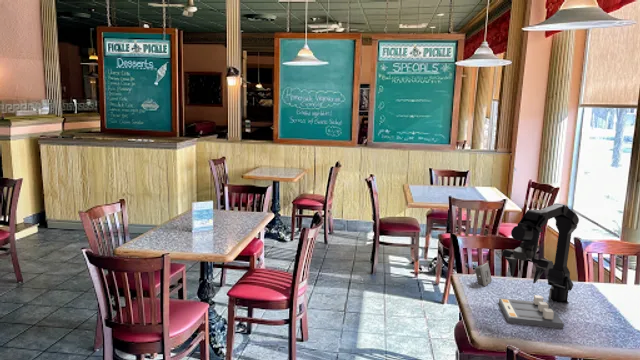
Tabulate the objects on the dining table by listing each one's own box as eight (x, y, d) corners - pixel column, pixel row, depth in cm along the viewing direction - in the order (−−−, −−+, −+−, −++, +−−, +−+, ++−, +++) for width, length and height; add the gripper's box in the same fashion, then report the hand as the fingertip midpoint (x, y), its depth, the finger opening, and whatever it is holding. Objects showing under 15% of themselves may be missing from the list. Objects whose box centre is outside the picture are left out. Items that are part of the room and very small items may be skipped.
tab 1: (545, 309, 190) (546, 302, 189) (547, 312, 187) (548, 305, 186) (537, 308, 190) (538, 301, 190) (539, 311, 187) (540, 304, 187)
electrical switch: (485, 286, 220) (485, 267, 219) (474, 284, 223) (474, 266, 222) (492, 281, 227) (491, 263, 226) (481, 280, 230) (481, 261, 230)
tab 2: (550, 316, 183) (551, 309, 182) (553, 319, 180) (553, 312, 179) (542, 315, 183) (543, 308, 183) (544, 318, 180) (545, 311, 180)
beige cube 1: (540, 302, 196) (541, 295, 196) (542, 305, 193) (543, 298, 193) (533, 301, 197) (534, 295, 196) (535, 304, 194) (535, 297, 194)
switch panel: (548, 307, 198) (548, 302, 197) (563, 328, 178) (563, 322, 178) (498, 302, 201) (499, 297, 201) (508, 322, 182) (508, 317, 181)
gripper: (498, 235, 188) (491, 273, 189) (545, 247, 174) (536, 287, 175) (512, 236, 195) (504, 272, 196) (557, 247, 181) (549, 286, 182)
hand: (522, 279), depth 187 cm, fingers open, 9 cm apart
